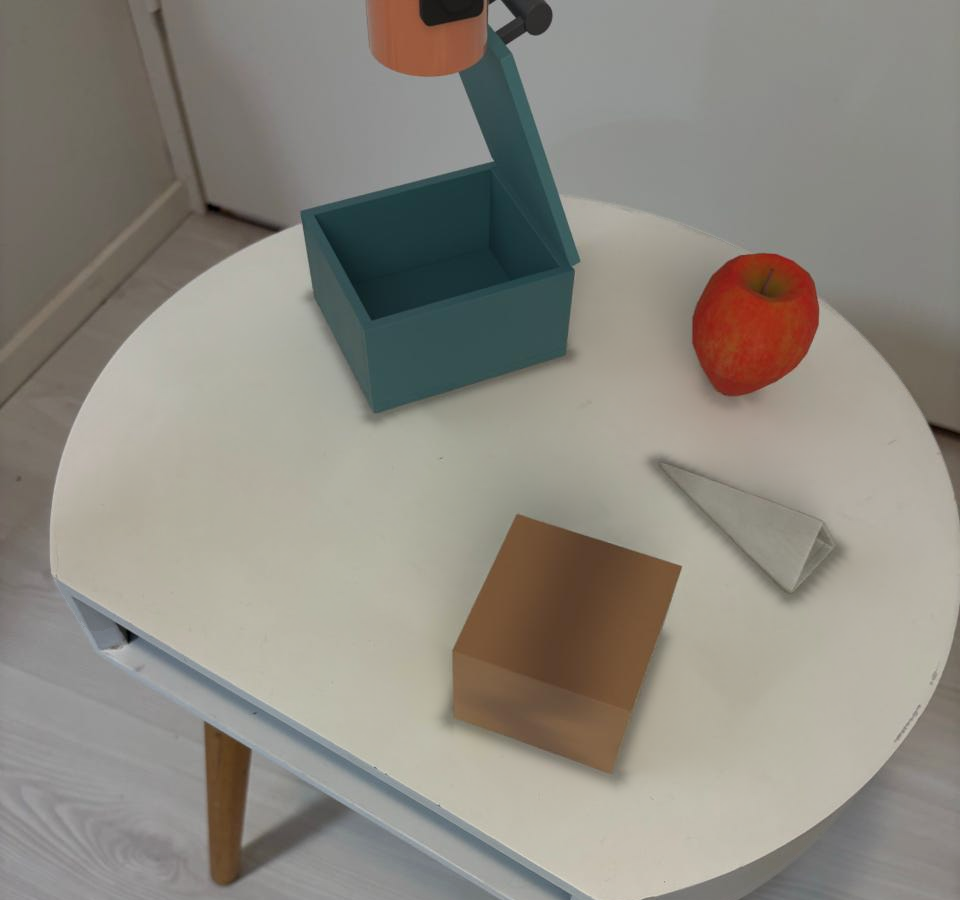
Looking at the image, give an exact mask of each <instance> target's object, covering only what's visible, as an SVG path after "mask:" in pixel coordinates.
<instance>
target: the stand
mask: <svg viewBox="0 0 960 900" xmlns="http://www.w3.org/2000/svg"><path fill="white" fill-rule="evenodd" d="M490 567H491V568H490V570H489V572H488V574H487V576H486V578H485V581H484V582H483V585H482V587H481V588H480V591H479V593H478V595H477V597H476V599H475V601H474V604H473V606H472V608H471V610H470V612H469V614H468V616H467V618H466V620H465V622H464V625H463V627H462V629H461V630H460V633H459V635H458V637H457V638H456V639H457V640H456V641H455V644H454V645H453V648H452V650H451V659H452V660H451V661H452V663H451V664H452V699H453V703H452V704H453V718H455V719H457V720H459V721H462V722H465V723H468V724H471V725H473V726H476V727H479V728H481V729H485V730H488V731H491V732H493V733H495V734H499V735H502V736H504V737H507V738H510V739H513V740H515V741H517V742H521V743H524V744H527V745H530V746H532V747H535V748H538V749H541V750H543V751H546V752H549V753H551V754H555V755H557V756H559V757H563V758H565V759H569V760H571V761H574V762H576V763H579V764H582V765H585V766H588V767H590V768H593V769H597V770H599V771H601V772H604V773H607V774H611V775H612V774H613V772H614V769H615V766H616V763H617V760H618V757H619V755H620V752H621V749H622V745H623V744H624V743H623V742H624V740H625V737H626V735H627V732H628V729H629V726H630V724H631V720H632V717H633V715H634V711H635V709H636V706H637V703H638V700H639V698H640V694H641V692H642V688H643V686H644V683H645V680H646V677H647V674H648V672H649V669H650V666H651V664H652V660H653V657H654V654H655V652H656V649H657V646H658V643H659V641H660V637H661V634H662V631H663V628H664V626H665V623H666V619H667V616H668V612H669V609H670V606H671V603H672V601H673V597H674V595H675V591H676V588H677V584H678V581H679V578H680V575H681V572H682V569H683V566H682V565H680V564H677V563H674V562H671V561H668V560H664V559H661V558H658V557H655V556H652V555H649V554H645V553H642V552H639V551H636V550H633V549H629V548H626V547H624V546H620V545H617V544H614V543H612V542H611V543H610V542H607V541H604V540H601V539H598V538H595V537H591V536H589V535H585V534H582V533H580V532H576V531H573V530H569V529H567V528H563V527H560V526H557V525H553V524H551V523H547V522H545V521H541V520H538V519H535V518H533V517H532V518H531V517H528V516H525V515H522V514H519V513H516V514H515V517H514V518H513V521H512V523H511V525H510V527H509V529H508V532H507V533H506V536H505V538H504V539H503V542H502V544H501V546H500V549H499V551H498V553H497V555H496V557H495V558H494V560H493V563H492V565H491V566H490Z"/></svg>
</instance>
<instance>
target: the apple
mask: <svg viewBox="0 0 960 900" xmlns="http://www.w3.org/2000/svg"><path fill="white" fill-rule="evenodd" d="M819 326H820V305H819V299H818V292H817V288H816V283H815V281H814V279H813V277H812V275H811V274H810V273H809V271H807V270H806V269H805V268H804V267H802V266H801V265H799V264H798V263H797V262H796V261H795V260H792V259H790V258H787V257H785V256H783V255H780V254H779V253H770V252H757V253H749V254H740V255H738V256H735V257H733V258H731V259H729V260H726V262H725V263H723V265H721V266H720V267H719V268H718V269H717V270H715V272H714V273H712V275H711V276H710V278H709V280H708V281H707V283H706V285H705V287H704V288H703V291H702V292H701V294H700V296H699V298H698V300H697V302H696V305H695V308H694V311H693V314H692V317H691V344H692V347H693V349H694V353H695V355H696V358H697V360H698V362H699V365H700V367H701V370H702V371H703V372H704V374H705V376H706V378H707V379H708V380H709V382H710V384H711V385H712V386H713V387H714V390H716V392H717V393H719V394H722V395H724V396H727V397H741V396H745V395H749V394H752V393H755V392H757V391H759V390H761V389H763V388H765V387H768V386H771V385H772V384H775V383H776V382H779V380H781V379H783V378H784V377H786V376H787V375H789V374H790V373H791V372H792V371H793V370H795V369H796V368H797V367H798V366H799V365H800V363H801V362H802V361H803V359H804V358H805V357H806V356H807V355H808V353H809V351H810V348H811V346H812V343H813V341H814V339H815V336H816V333H817V331H818V328H819Z"/></svg>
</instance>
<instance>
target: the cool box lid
mask: <svg viewBox="0 0 960 900" xmlns="http://www.w3.org/2000/svg"><path fill="white" fill-rule="evenodd" d="M496 1H497V0H489V6H490V5H492V4H493V3H494V2H496ZM500 1H501V3H502V4H503V5H504V6H505V7H506V8H507V9H508V11H509V12H510V13H511V14H512V16H513V17H514V18H513V19H512V20H511V21H509V22H508V23H506V24H505V25H503V26H502V27H500V28H498V29H497V30H494V29H493V27H492V26H491V25H490V24H489V23H488V46H487V50H486V53H485V54H484V56H483V57H482V58H481V59H480V61H478V62H477V63H476V64H474V65H473V66H471V67H470V68H467V69H465V70H463V71H460V72H457V73H458V75H459V77H460V80H461V83H462V85H463V88H464V91H465V93H466V95H467V98H468V101H469V103H470V107H471V108H472V111H473V114H474V116H475V119H476V122H477V124H478V126H479V130H480V131H481V134H482V136H483V140H484V142H485V144H486V147H487V150H488V152H489V155H490V157H491V159H492V160H493V161H495V163H496V164H497V166H498V167H499V168H500V170H501V171H502V173H503V174H504V175H505V177H506V178H507V180H508V181H509V182H510V184H511V185H512V186H513V188H514V189H515V191H516V192H517V193H518V195H519V196H520V198H521V199H522V200H523V202H524V203H525V204H526V206H527V207H528V209H529V210H530V211H531V213H532V214H533V216H534V217H535V218H536V220H537V221H538V223H539V224H540V225H541V227H542V228H543V229H544V231H545V232H546V234H547V235H548V236H549V238H550V239H551V241H552V242H553V243H554V245H555V246H556V248H557V249H558V250H559V252H560V253H561V254H562V256H563V257H564V259H565V260H566V261H567V263H568V264H569V266H570V267H573V268H574V267H575V266H576V265H578V264H579V263H581V258H580V254H579V252H578V249H577V245H576V243H575V240H574V237H573V234H572V231H571V228H570V225H569V222H568V218H567V215H566V212H565V209H564V206H563V203H562V200H561V197H560V194H559V191H558V187H557V185H556V182H555V179H554V176H553V173H552V170H551V166H550V164H549V161H548V157H547V155H546V152H545V149H544V148H545V147H544V145H543V142H542V139H541V137H540V134H539V130H538V127H537V124H536V121H535V118H534V115H533V112H532V109H531V105H530V103H529V99H528V97H527V93H526V91H525V87H524V84H523V82H522V79H521V76H520V72H519V70H518V67H517V63H516V60H515V58H514V54H513V52H512V51H511V49H509V47H508V46H507V45H508V44H511V42H513V41H515V40H516V39H518V38H519V37H521V36H522V35H524V34H526V33H528V35H530V36H534V37H535V36H541V35H543V34H545V33H546V32H547V30H548V29H549V28H550V26H551V24H552V22H553V13H554V12H553V9H552V7H551V6H550V5H549V4H548V3H547V1H546V0H500Z"/></svg>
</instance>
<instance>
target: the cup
mask: <svg viewBox="0 0 960 900" xmlns="http://www.w3.org/2000/svg"><path fill="white" fill-rule="evenodd" d="M364 2H365V15H366V27H367V41H368V48H369V51H370V54H371V55H372V56H373V58H374V59H375V60H376V61H377V62H378V63H379V64H381V65H382V66H383V67H385V68H387V69H388V70H391V71H393V72H396V73H400V74H403V75H406V76H407V75H408V76H413V77H426V78H428V77H430V78H431V77H432V78H433V77H434V78H435V77H444V76H450V75H453V74H454V75H455V74H457V73H458V72H460V71H463V70H465V69H467V68H470V67H471V66H473V65H474V64H476V63H477V62H478V61H480V59H481V58H482V57H483V56H484V54H485V53H486V50H487V46H488V24H489V9H490V8H489V6H490V5H489V0H484V8H483V12H482V13H481V14H480V15H479V16H477V17H473V18H468V19H464V20H459V21H454V22H449V23H445V24H440V25H435V26H427V25H425V23H424V22H423V21H422V19H421V18H420V10H419V0H364Z"/></svg>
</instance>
